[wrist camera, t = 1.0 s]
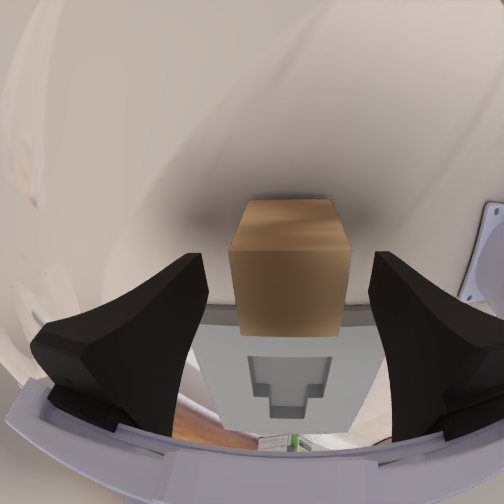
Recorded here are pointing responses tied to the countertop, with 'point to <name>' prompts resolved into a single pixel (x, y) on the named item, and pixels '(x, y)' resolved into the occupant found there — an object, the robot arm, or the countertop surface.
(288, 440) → the syrup box
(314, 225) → the keyhole peg
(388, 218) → the countertop surface
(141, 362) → the robot arm
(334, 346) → the keyhole board
